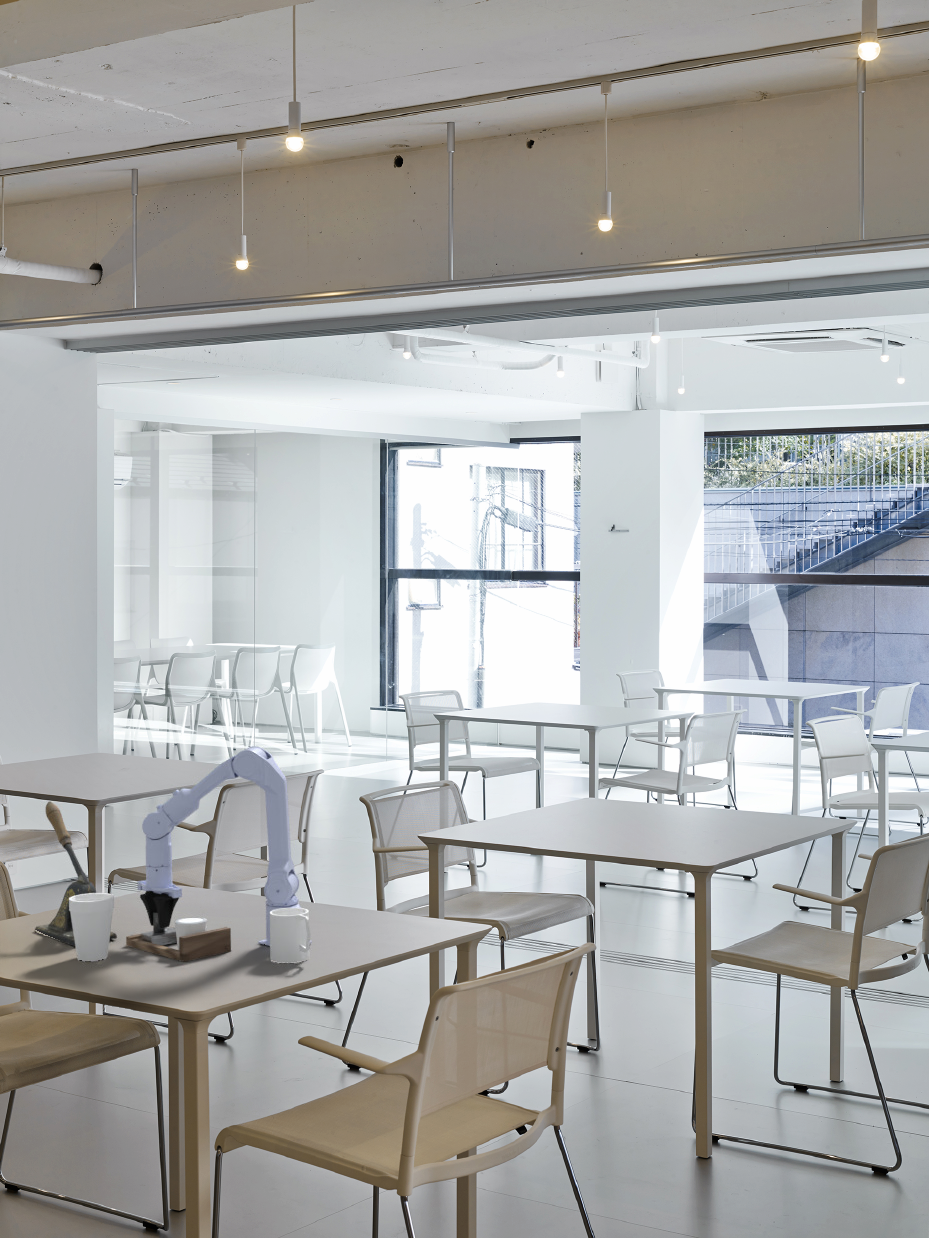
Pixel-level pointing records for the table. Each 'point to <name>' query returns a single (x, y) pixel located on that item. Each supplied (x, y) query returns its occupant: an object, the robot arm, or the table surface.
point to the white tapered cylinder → (189, 926)
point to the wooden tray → (188, 945)
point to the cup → (289, 935)
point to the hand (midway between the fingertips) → (160, 925)
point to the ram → (159, 933)
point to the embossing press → (62, 921)
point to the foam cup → (91, 924)
